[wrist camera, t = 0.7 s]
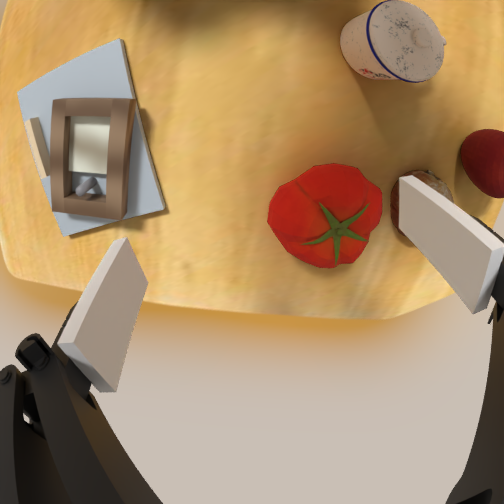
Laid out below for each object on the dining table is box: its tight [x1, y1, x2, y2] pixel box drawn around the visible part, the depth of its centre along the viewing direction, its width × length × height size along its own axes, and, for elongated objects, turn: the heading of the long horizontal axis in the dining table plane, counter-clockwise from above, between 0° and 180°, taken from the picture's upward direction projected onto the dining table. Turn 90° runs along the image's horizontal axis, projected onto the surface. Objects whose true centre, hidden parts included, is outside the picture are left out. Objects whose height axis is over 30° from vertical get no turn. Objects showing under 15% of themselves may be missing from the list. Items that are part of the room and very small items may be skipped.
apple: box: [461, 129, 504, 198], centre depth 30 cm, size 10×10×10 cm
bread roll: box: [391, 170, 454, 242], centre depth 36 cm, size 10×10×8 cm
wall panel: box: [17, 38, 166, 237], centre depth 29 cm, size 22×16×5 cm
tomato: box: [267, 163, 382, 268], centre depth 34 cm, size 14×13×9 cm
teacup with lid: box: [340, 0, 446, 83], centre depth 22 cm, size 12×9×12 cm
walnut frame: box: [50, 98, 137, 220], centre depth 29 cm, size 14×10×2 cm
